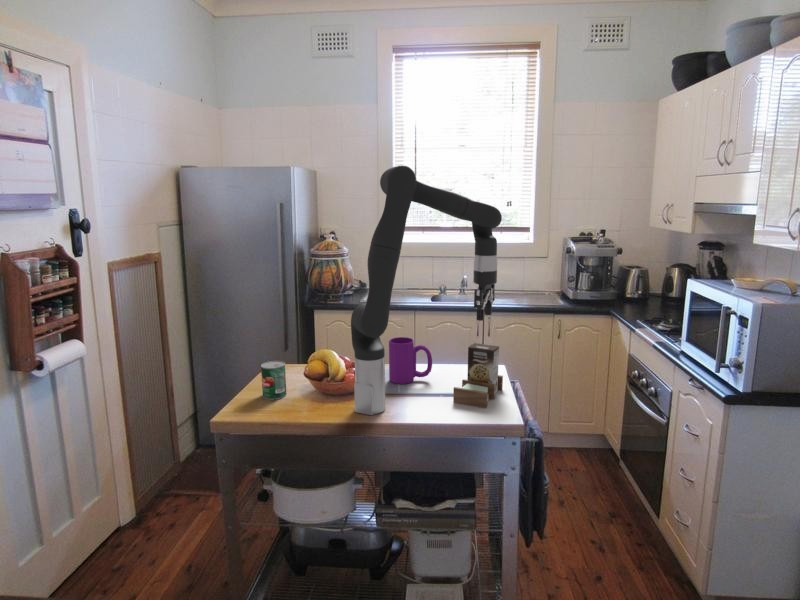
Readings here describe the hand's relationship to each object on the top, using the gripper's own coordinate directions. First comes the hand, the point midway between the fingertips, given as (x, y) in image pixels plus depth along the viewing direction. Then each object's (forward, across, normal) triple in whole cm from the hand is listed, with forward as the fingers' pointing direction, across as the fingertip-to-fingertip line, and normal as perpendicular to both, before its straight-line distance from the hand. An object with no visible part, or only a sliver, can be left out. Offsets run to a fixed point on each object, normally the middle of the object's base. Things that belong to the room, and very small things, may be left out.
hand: (484, 317), depth 173 cm
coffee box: (+26, 0, 0) cm, 26 cm away
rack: (+26, +4, 0) cm, 26 cm away
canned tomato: (+26, +33, -62) cm, 75 cm away
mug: (+26, 0, -27) cm, 38 cm away
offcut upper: (+24, +9, 0) cm, 25 cm away
